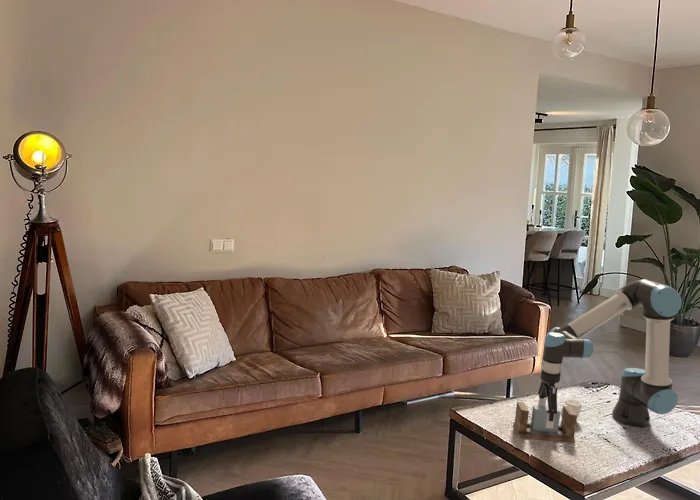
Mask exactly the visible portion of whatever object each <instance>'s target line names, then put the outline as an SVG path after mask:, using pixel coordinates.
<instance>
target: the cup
mask: <svg viewBox="0 0 700 500" xmlns="http://www.w3.org/2000/svg"><path fill="white" fill-rule="evenodd" d="M564 403H565V405H563V406H571V407H572V409H573V410H574V412H575V413H576V414H577V419H578V418H579V415H580V413H581V409H582V406H583V403H582V402H581V401H579V400H576V399H571V398H568V399H565V400H564ZM563 406H562V407H561V409H560V417H561V418H562V413H563ZM577 421H578V420H576V422H577Z"/></svg>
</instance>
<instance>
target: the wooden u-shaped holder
mask: <svg viewBox="0 0 700 500" xmlns="http://www.w3.org/2000/svg"><path fill="white" fill-rule="evenodd" d="M515 407H516V409H515V415H514V416H515V417H514V422H513V423H512V425H513V427H514V430H515V432H516V434H517V436H518V438H519V439H529V440H537V441H538V440H539V441H549V442H550V441H551V442H561V443H572V444H575V443H576V439H575V435H576V427H577V421H578V420H577V419H578V418H577V414H576V413H575V412H574V410H573V409H572V407H571V406H564V405H563V406H562V407H563V413H562V417H561V422H560V425H559V427H558V433H553V432H542V431H532V430H531V428H530V426H531V422H528V421H529V414H530V413H529V412H530V411H529V409H528V406H527V405H526V403H525V402H524V401H516V405H515ZM576 420H577V421H576Z"/></svg>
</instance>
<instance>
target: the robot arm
mask: <svg viewBox="0 0 700 500" xmlns="http://www.w3.org/2000/svg"><path fill="white" fill-rule="evenodd" d="M682 303H683V302H682V296H681V295H680V293H679V292H678V291H677V290H676V289H675V288H673V287H672V286H669V285H667V284H664V283H660V282H657V281H653V280H651V279H645V278H644V279H639V280H635V281H632V282H630V283H628V284H626V285H624V286H622V287H620V288H618V289H617V290H616V291H615V293H614V295H612V296H611V297H609V298H607V299H606V300H603V302H601V303H599V304H598V305H596V306H594V307H593V308H591V309H590V310H588V311H587V312H585V313H583V314H582V315H579V317H577V318H575V319H574V320H572V321H571V322H569V323H567V324H565V325H564V326H562V327H560V326H555V327H553V328H552V327H551V329H550V331H549V332H547V333H546V335H545V337H544V343H543V354H542V361H541V362H540V365H541V369H540V370H541V371H540V380H541V382H540V384H539V385H540V386H539V388H538V392H537V395H538V402H537V403H538V404H537V406H546V402H547V406H548V411H547V420H546V428H552V429H553V425H554V417H555V414H557V407H558V388H557V387H556V386H555V384H558V383H560V381H561V374H562V373H561V372H562V369H563V368H562V367H563V360H564V358H571V359H572V358H573V359H574V358H575V359H588V358H590V357H592V355H593V353H594V345H593V342H592V341H591V340H590V339H588V338H583V337H584V336H585V335H587V334H589V333H590V332H592V331H593V330H595V329H598V328H599V327H600V326H602V325H604V324H606V323H607V322H609V321H610V320H612V319H613V318H615V317H616V316H618V315H620V314H621V313H623V312H625V311H626V310H627V311H631V310H632V309H635V308H637V307H641V308H642V317H643V318H644V319H645V320H646V327H645V328H646V331H645V361H644V362H645V363H644V364H645V365H644V369H643V368H638V367H637V368H636V367H627V368H624V369H623V371H622V373H621V376H620V377H621V381H620V388H619V394H618V400H617V402H616V404H615V405H614V407H613V409H612V412H611V414H612V415H611V416H612V417H613V419H615V420H617V422H620V423H622V424H625V425H628V426H632V427H648V426H649V425H650V421H651V415H650V412H654V414H658V415H666V414H669V413H670V412H672V410H674V409H675V408H676V407H677V405H678V402H679V396H678V394H677V393H676V391H675V390H673V380H672V378H670V376H669V368H670V367H669V366H670V365H669V363H670V338H671V335H670V333H671V321H673V320H674V319H675V316H676V315H677V314H678V313H679V311H680V310H681V307H682ZM546 400H547V401H546ZM649 411H650V412H649Z"/></svg>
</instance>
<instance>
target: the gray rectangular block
mask: <svg viewBox="0 0 700 500" xmlns="http://www.w3.org/2000/svg"><path fill="white" fill-rule="evenodd" d="M547 411H548V405H545V406H538V404H537V405H535V404H533V405H532V410H531V419H530V423H531V426H530V428H531V430H532V431H542V432H553V433H558V427H559V426H560V420H561V419H560V417H561V409H559V407H558V406H557V414H555V417H554V425H553V429H552V428H546V420H547Z"/></svg>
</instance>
